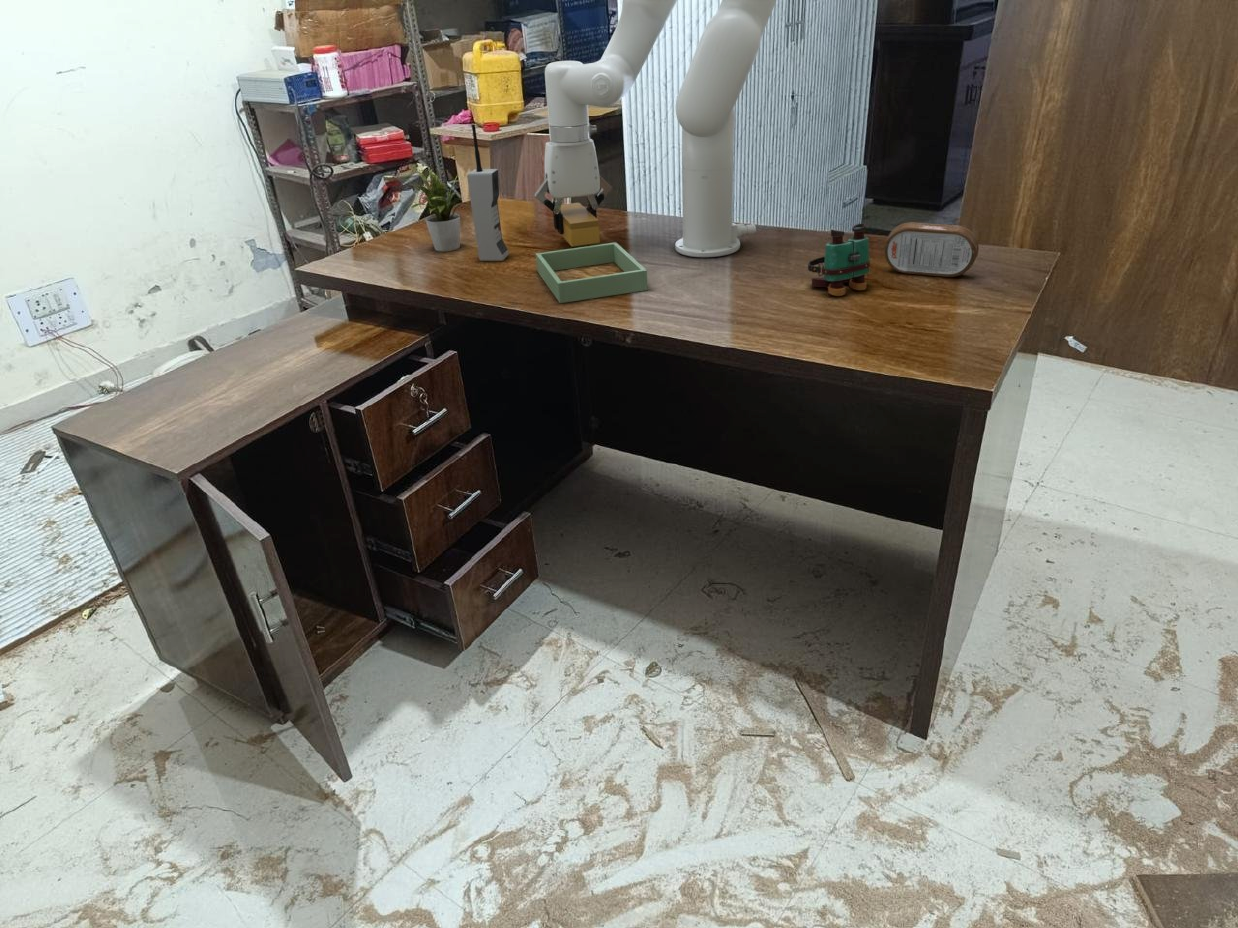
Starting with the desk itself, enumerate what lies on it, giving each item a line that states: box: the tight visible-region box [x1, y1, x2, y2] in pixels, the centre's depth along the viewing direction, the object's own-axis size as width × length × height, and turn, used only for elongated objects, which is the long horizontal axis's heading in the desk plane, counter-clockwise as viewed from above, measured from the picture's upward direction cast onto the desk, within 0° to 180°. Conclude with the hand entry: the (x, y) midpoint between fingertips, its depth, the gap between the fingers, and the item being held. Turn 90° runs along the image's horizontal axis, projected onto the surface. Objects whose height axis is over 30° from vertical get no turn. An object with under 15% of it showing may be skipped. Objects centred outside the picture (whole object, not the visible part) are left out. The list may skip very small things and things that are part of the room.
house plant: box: [402, 166, 470, 252], centre depth 170 cm, size 14×14×16 cm
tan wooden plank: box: [555, 202, 601, 248], centre depth 165 cm, size 6×15×4 cm, turn 17°
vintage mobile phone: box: [466, 123, 509, 262], centre depth 159 cm, size 4×5×25 cm
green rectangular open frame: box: [535, 241, 649, 304], centre depth 150 cm, size 16×19×4 cm
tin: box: [883, 221, 980, 278], centre depth 142 cm, size 15×3×8 cm, turn 65°
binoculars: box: [807, 222, 871, 297], centre depth 138 cm, size 9×11×10 cm
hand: (575, 229), depth 166 cm, fingers closed on tan wooden plank, 5 cm apart
